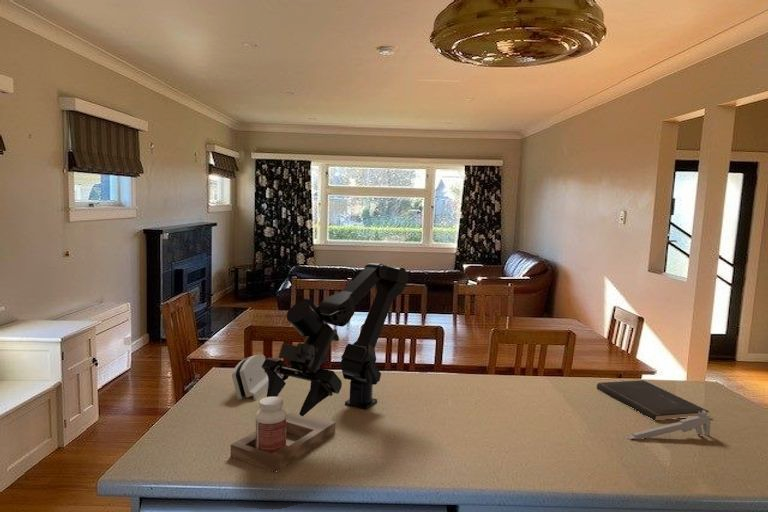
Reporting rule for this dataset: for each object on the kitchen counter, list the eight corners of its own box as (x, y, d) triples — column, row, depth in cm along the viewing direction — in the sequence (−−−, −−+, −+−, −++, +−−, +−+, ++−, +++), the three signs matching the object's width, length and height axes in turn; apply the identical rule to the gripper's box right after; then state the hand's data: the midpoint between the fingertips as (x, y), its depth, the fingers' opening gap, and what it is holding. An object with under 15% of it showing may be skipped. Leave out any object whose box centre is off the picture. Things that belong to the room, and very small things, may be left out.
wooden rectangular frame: (293, 420, 118) (293, 410, 117) (335, 432, 112) (335, 422, 112) (230, 456, 100) (230, 444, 100) (276, 472, 94) (276, 460, 94)
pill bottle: (292, 452, 102) (292, 400, 101) (266, 463, 97) (266, 408, 96) (275, 442, 106) (275, 392, 105) (249, 451, 102) (250, 399, 101)
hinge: (255, 400, 129) (243, 364, 129) (239, 405, 130) (227, 369, 130) (278, 379, 146) (267, 347, 146) (263, 383, 147) (252, 351, 146)
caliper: (705, 435, 116) (708, 409, 116) (709, 437, 115) (711, 411, 115) (627, 439, 113) (629, 412, 113) (630, 441, 112) (632, 415, 112)
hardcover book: (643, 387, 149) (643, 380, 148) (708, 419, 126) (708, 411, 126) (596, 390, 145) (596, 382, 145) (654, 423, 123) (655, 414, 123)
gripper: (266, 322, 112) (231, 384, 103) (334, 334, 103) (302, 403, 95) (289, 348, 120) (257, 407, 111) (354, 360, 111) (325, 426, 102)
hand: (283, 410), depth 105 cm, fingers open, 9 cm apart
